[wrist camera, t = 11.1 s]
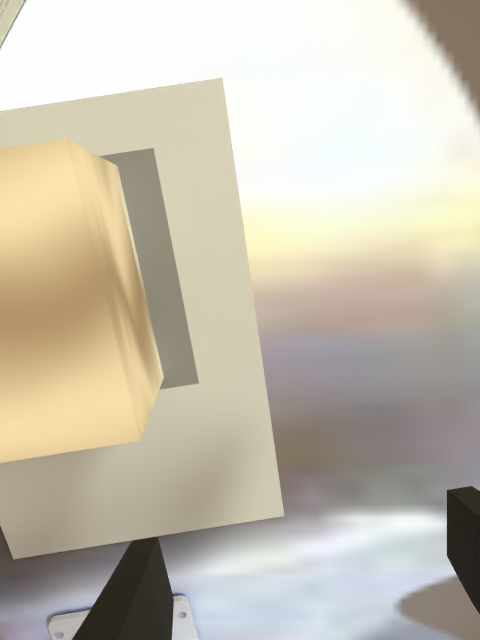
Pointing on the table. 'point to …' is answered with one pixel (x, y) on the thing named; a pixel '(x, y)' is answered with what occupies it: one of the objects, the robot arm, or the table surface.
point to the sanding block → (70, 306)
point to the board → (162, 336)
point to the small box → (8, 15)
